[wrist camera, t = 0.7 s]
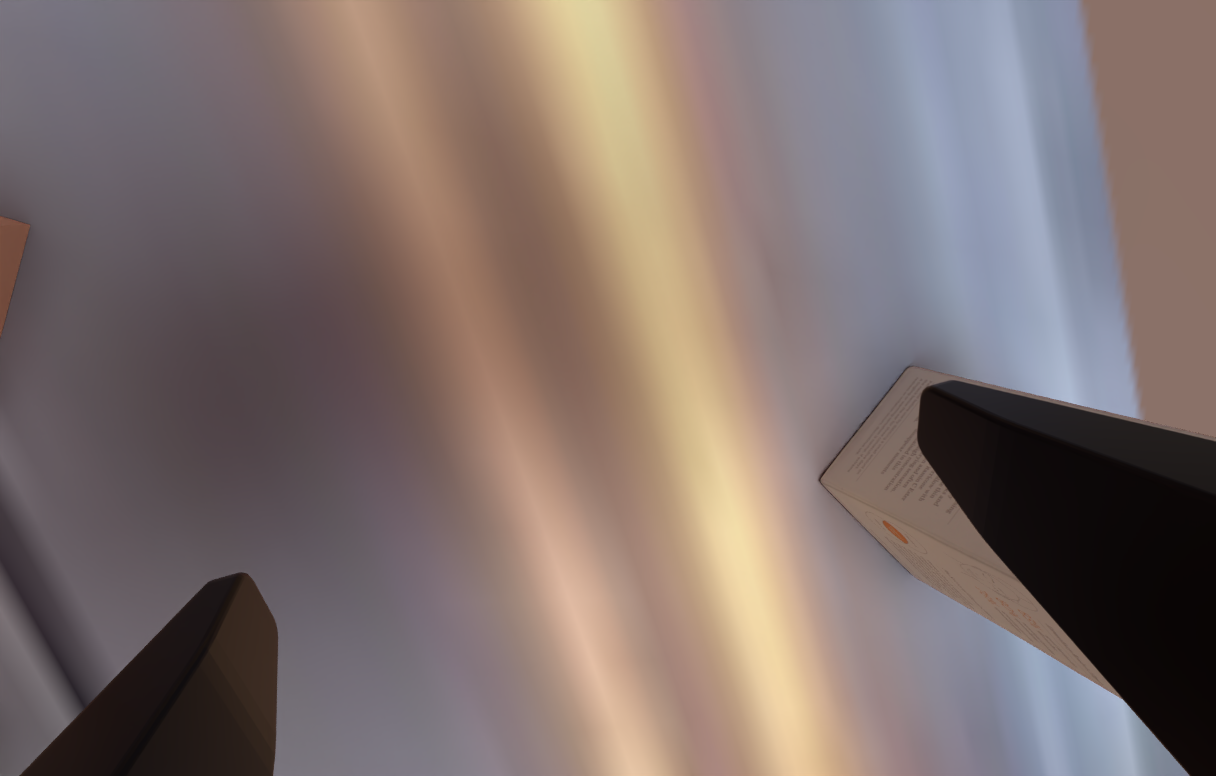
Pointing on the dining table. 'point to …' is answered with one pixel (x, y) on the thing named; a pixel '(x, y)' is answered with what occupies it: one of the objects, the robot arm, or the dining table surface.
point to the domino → (10, 260)
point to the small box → (942, 518)
